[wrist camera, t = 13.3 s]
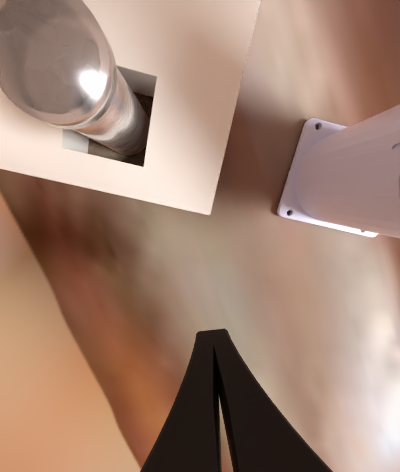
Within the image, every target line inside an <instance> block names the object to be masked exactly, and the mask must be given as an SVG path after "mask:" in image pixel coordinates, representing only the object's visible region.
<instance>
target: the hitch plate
mask: <svg viewBox="0 0 400 472" xmlns="http://www.w3.org/2000/svg"><path fill="white" fill-rule="evenodd" d="M82 1H83V2H84V3H85V4H86V6H87V7H88V8H89V9H90V11H91V12H92V14H93V15H94V17H95V18H96V20H97V22H98V23H99V25H100V27H101V29H102V30H103V32H104V34H105V35H106V37H107V39H108V41H109V43H110V45H111V48H112V51H113V54H114V57H115V62H116V66H117V68H118V70H119V71H120V73H121V74H122V76H123V77H124V79H125V81H126V82H127V84H128V85H129V87H130V88H131V90H132V92H136V93H139V94H143V95H147V96H151V97H154V100H153V106H152V113H151V120H150V127H149V133H148V140H147V147H146V154H145V160H144V167H141V166H137V165H133V164H128V163H124V162H120V161H116V160H112V159H107V158H103V157H99V156H95V155H90V154H88V144H89V137H87V136H85V135H83V134H81V133H79V132H77V131H75V130H73V129H62V128H58V127H55V126H52V125H49V124H47V123H45V122H43V121H41V120H39V119H37V118H35V117H32V116H30V115H28V114H27V113H25V112H24V111H22V110H21V109H19V108H18V107H17V106H16V105H14V104H13V103H12V102H11V101H10V100H9V99H8V97H7V96H6V95H5V94H4V92H3V91H2V90H1V88H0V169H4V170H9V171H13V172H18V173H22V174H27V175H31V176H36V177H40V178H45V179H49V180H54V181H58V182H62V183H67V184H71V185H76V186H80V187H85V188H89V189H94V190H98V191H103V192H107V193H112V194H116V195H121V196H125V197H130V198H134V199H139V200H143V201H148V202H152V203H157V204H161V205H166V206H170V207H175V208H179V209H184V210H188V211H193V212H197V213H202V214H206V215H210V213H211V209H212V205H213V200H214V196H215V192H216V188H217V183H218V179H219V175H220V171H221V166H222V162H223V158H224V154H225V150H226V145H227V141H228V137H229V133H230V128H231V124H232V120H233V116H234V111H235V107H236V103H237V99H238V94H239V90H240V86H241V82H242V77H243V73H244V69H245V65H246V61H247V56H248V52H249V48H250V44H251V39H252V35H253V31H254V27H255V22H256V18H257V14H258V10H259V5H260V1H261V0H82Z"/></svg>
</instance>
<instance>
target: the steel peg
mask: <svg viewBox="0 0 400 472" xmlns="http://www.w3.org/2000/svg"><path fill="white" fill-rule="evenodd" d="M0 88H1V90H2V91H3V92H4V94H5V95H6V96H7V97H8V99H9V100H10V101H11V102H12V103H13V104H14V105H16V106H17V107H18V108H19V109H21V110H22V111H24V112H25V113H27V114H28V115H30V116H32V117H35V118H37V119H39V120H41V121H43V122H45V123H47V124H49V125H52V126H55V127H58V128H62V129H73V130H75V131H77V132H79V133H81V134H83V135H85V136H87V137H89V138H91V139H93V140H95V141H97V142H98V143H100V144H102V145H104V146H106V147H108V148H110V149H112V150H114V151H116V152H118V153H120V154H123V155H134V154H137V153H139V152H141V151H142V150H144V149H145V148H146V146H147V140H148V133H149V127H150V120H149V117H148V115H147V113H146V112H145V110H144V109H143V107H142V106H141V104H140V103H139V101H138V99H137V98H136V96H135V95H134V93H133V92H132V90H131V88H130V87H129V85H128V84H127V82H126V81H125V79H124V77H123V76H122V74H121V73H120V71H119V70H118V68H117V66H116V62H115V57H114V54H113V51H112V48H111V45H110V43H109V41H108V39H107V37H106V35H105V34H104V32H103V30H102V29H101V27H100V25H99V23H98V22H97V20H96V18H95V17H94V15H93V14H92V12H91V11H90V9H89V8H88V7H87V6H86V4H85V3H84V2H83V1H82V0H0Z"/></svg>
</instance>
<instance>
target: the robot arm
mask: <svg viewBox="0 0 400 472" xmlns="http://www.w3.org/2000/svg"><path fill="white" fill-rule="evenodd" d="M316 124H317V125H318V127H319V128H318V130H317V129H316V128H315V125H316ZM288 210H290V211H291V213H290V214H289V215H287V211H288ZM277 214H278V215H279V216H280V217H284V218H289V219H293V220H297V221H302V222H306V223H310V224H315V225H319V226H324V227H328V228H332V229H337V230H341V231H345V232H350V233H354V234H359V235H363V236H367V237H375V236H376V235H377V234H382V235H387V236H391V237H396V238H400V105H398V106H395V107H393V108H391V109H388V110H386V111H384V112H382V113H379V114H377V115H375V116H372V117H370V118H368V119H366V120H363V121H361V122H359V123H357V124H354V125H352V126H350V127H346V126H342V125H339V124H335V123H331V122H328V121H324V120H320V119H317V118H310V119H309V120H307V121H306V122H305V124H304V127H303V130H302V133H301V136H300V139H299V142H298V146H297V149H296V152H295V155H294V158H293V162H292V165H291V168H290V171H289V174H288V177H287V181H286V184H285V187H284V190H283V193H282V197H281V200H280V203H279V206H278V209H277ZM360 230H361V231H360ZM219 398H220V403H221V409H222V414H223V419H224V424H225V430H226V435H227V440H228V445H229V450H230V456H231V461H232V466H233V472H332V470H331V469H330V468H329V467H328V466H327V465H326V464H325V463H324V462H323V461H322V460H321V459H320V457H319V456H318V455H317V454H316V453H315V452H314V451H313V450H312V449H311V448H310V447H309V445H308V444H307V443H306V442H305V441H304V440H303V438H302V437H301V436H300V435H299V434H298V433H297V431H296V430H295V429H294V428H293V427H292V426H291V424H290V423H289V422H288V421H287V419H286V418H285V417H284V416H283V415H282V413H281V412H280V411H279V410H278V408H277V407H276V406H275V404H274V403H273V402H272V401H271V399H270V398H269V397H268V395H267V394H266V393H265V391H264V390H263V388H262V387H261V386H260V384H259V383H258V382H257V380H256V379H255V377H254V376H253V374H252V373H251V371H250V370H249V368H248V367H247V365H246V364H245V362H244V361H243V359H242V357H241V356H240V354H239V352H238V351H237V349H236V347H235V345H234V344H233V342H232V340H231V338H230V336H229V333H228V331H227V330H226V329H218V330H208V331H199V332H198V333H197V334H196V340H195V344H194V348H193V352H192V355H191V359H190V362H189V365H188V368H187V370H186V373H185V376H184V379H183V382H182V384H181V387H180V389H179V392H178V394H177V397H176V399H175V401H174V404H173V406H172V408H171V411H170V413H169V415H168V417H167V419H166V422H165V424H164V426H163V428H162V430H161V432H160V434H159V436H158V438H157V440H156V442H155V444H154V446H153V448H152V450H151V452H150V454H149V456H148V458H147V460H146V462H145V463H144V465H143V467H142V469H141V471H140V472H222V467H221V441H220V416H219Z"/></svg>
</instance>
